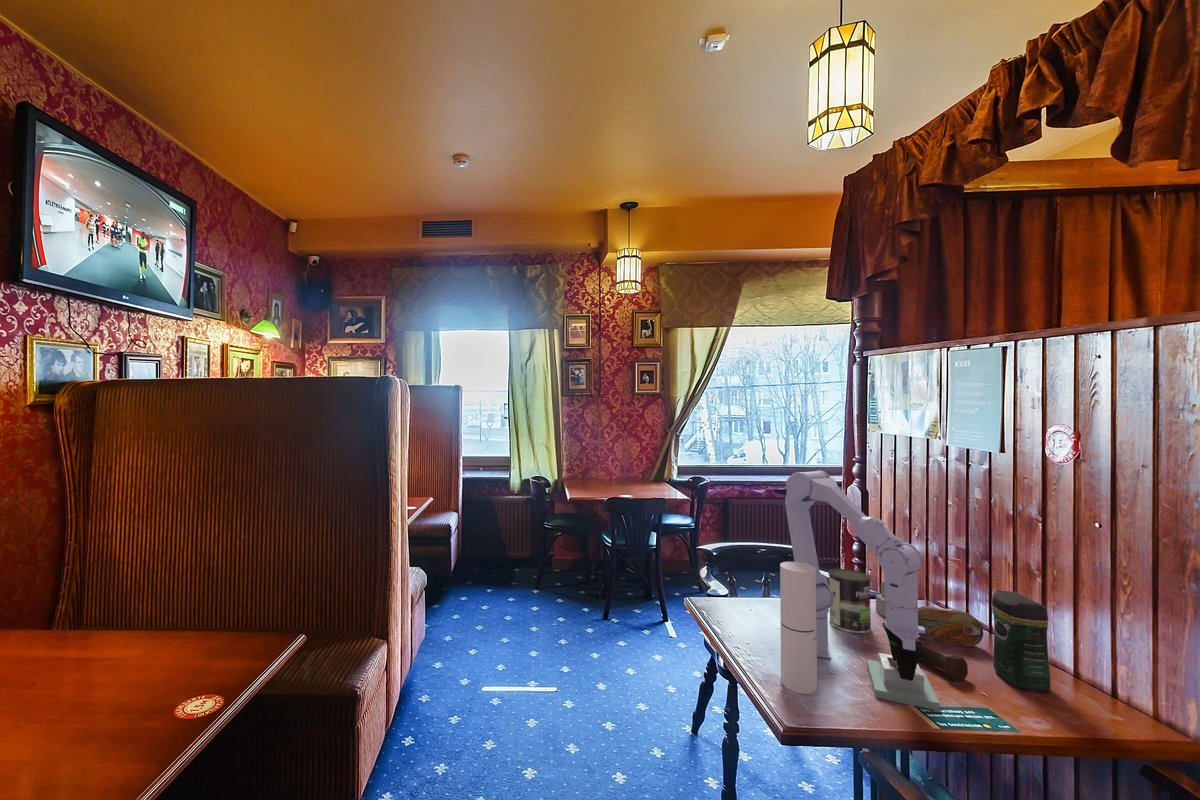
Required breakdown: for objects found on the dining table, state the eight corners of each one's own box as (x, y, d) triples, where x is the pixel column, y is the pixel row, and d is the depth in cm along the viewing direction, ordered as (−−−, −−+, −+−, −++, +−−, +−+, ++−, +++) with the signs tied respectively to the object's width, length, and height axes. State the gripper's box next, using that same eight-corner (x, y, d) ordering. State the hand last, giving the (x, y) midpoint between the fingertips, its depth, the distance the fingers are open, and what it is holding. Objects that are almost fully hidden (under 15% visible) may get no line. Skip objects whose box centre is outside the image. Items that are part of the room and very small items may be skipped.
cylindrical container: (773, 678, 100) (772, 563, 101) (797, 671, 103) (796, 560, 104) (799, 697, 94) (798, 573, 95) (824, 689, 96) (823, 569, 98)
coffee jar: (1059, 696, 95) (1056, 605, 96) (1015, 691, 96) (1012, 602, 97) (1026, 671, 104) (1023, 589, 105) (986, 667, 106) (984, 586, 107)
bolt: (899, 656, 114) (963, 687, 100) (886, 648, 113) (948, 679, 99) (907, 633, 115) (971, 661, 101) (893, 625, 114) (956, 652, 100)
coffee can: (879, 628, 125) (878, 576, 126) (857, 637, 120) (856, 583, 120) (843, 614, 134) (842, 566, 135) (821, 622, 129) (820, 571, 129)
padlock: (873, 610, 137) (873, 577, 137) (886, 610, 137) (886, 577, 137) (889, 621, 130) (888, 585, 130) (903, 621, 130) (902, 585, 130)
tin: (913, 639, 119) (912, 606, 120) (910, 633, 122) (909, 602, 123) (984, 650, 114) (983, 616, 114) (979, 644, 117) (978, 611, 117)
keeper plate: (875, 697, 94) (875, 677, 94) (866, 666, 106) (866, 648, 106) (940, 711, 89) (939, 690, 90) (923, 677, 101) (923, 658, 101)
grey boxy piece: (884, 685, 95) (883, 668, 96) (878, 668, 102) (878, 652, 102) (924, 693, 93) (923, 676, 93) (916, 676, 99) (915, 659, 99)
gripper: (933, 621, 88) (934, 693, 87) (915, 594, 101) (917, 657, 100) (890, 614, 90) (891, 684, 90) (879, 589, 104) (879, 650, 103)
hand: (902, 669), depth 95 cm, fingers open, 7 cm apart
